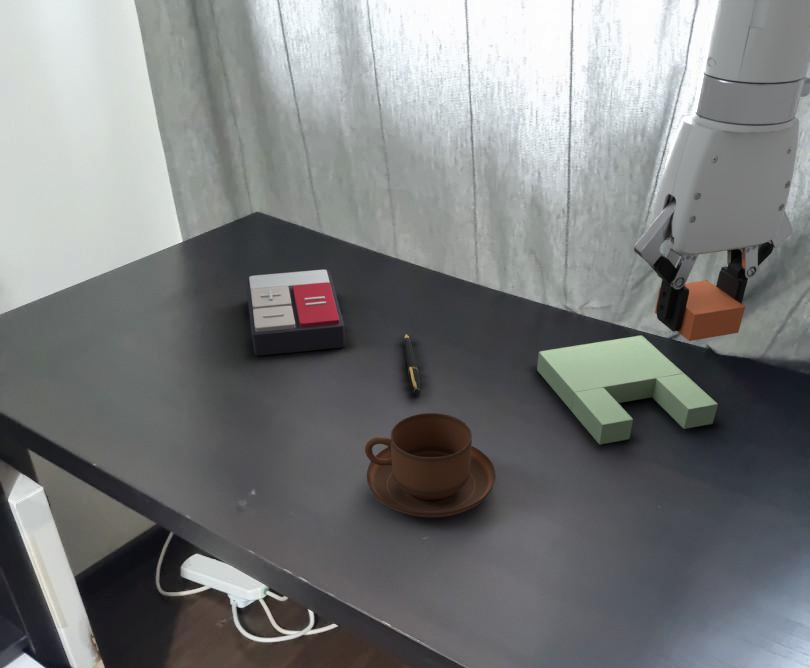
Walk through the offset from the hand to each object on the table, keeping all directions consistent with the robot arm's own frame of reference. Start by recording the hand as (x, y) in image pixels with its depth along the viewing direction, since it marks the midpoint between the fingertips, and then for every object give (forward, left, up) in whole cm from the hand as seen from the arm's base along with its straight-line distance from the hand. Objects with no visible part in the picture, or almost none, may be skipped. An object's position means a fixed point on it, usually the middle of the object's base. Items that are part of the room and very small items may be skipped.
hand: (696, 318), depth 75 cm
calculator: (+32, -37, -14) cm, 51 cm away
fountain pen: (+21, -22, -14) cm, 33 cm away
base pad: (+1, -9, -13) cm, 16 cm away
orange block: (0, 0, 0) cm, 0 cm away
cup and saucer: (+26, +1, -14) cm, 29 cm away
